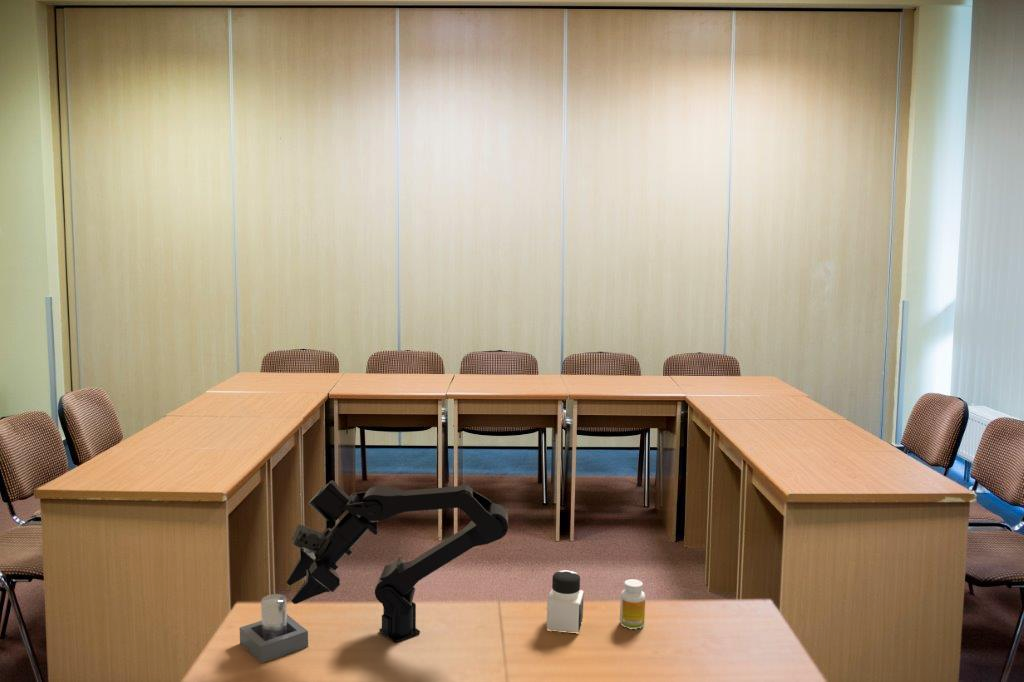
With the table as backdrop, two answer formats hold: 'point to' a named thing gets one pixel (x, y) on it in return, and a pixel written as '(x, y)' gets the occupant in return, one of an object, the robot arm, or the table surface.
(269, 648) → the grey square frame
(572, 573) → the medicine bottle
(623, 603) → the supplement bottle
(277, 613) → the steel shaft
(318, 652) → the table surface
